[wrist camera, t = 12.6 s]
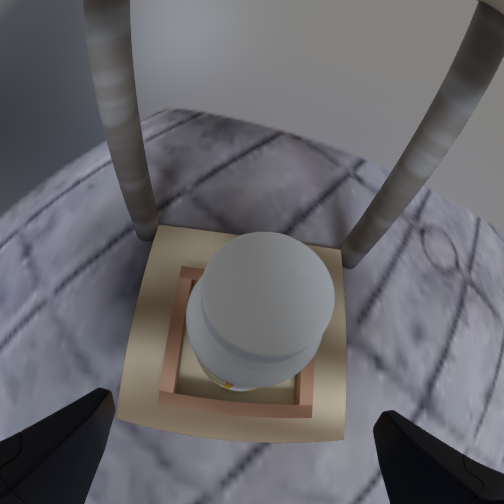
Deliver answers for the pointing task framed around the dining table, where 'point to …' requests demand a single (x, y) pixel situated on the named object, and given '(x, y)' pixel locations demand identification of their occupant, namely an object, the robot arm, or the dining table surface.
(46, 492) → the robot arm
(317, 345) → the supplement bottle
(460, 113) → the wood and grey frame
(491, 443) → the dining table surface
